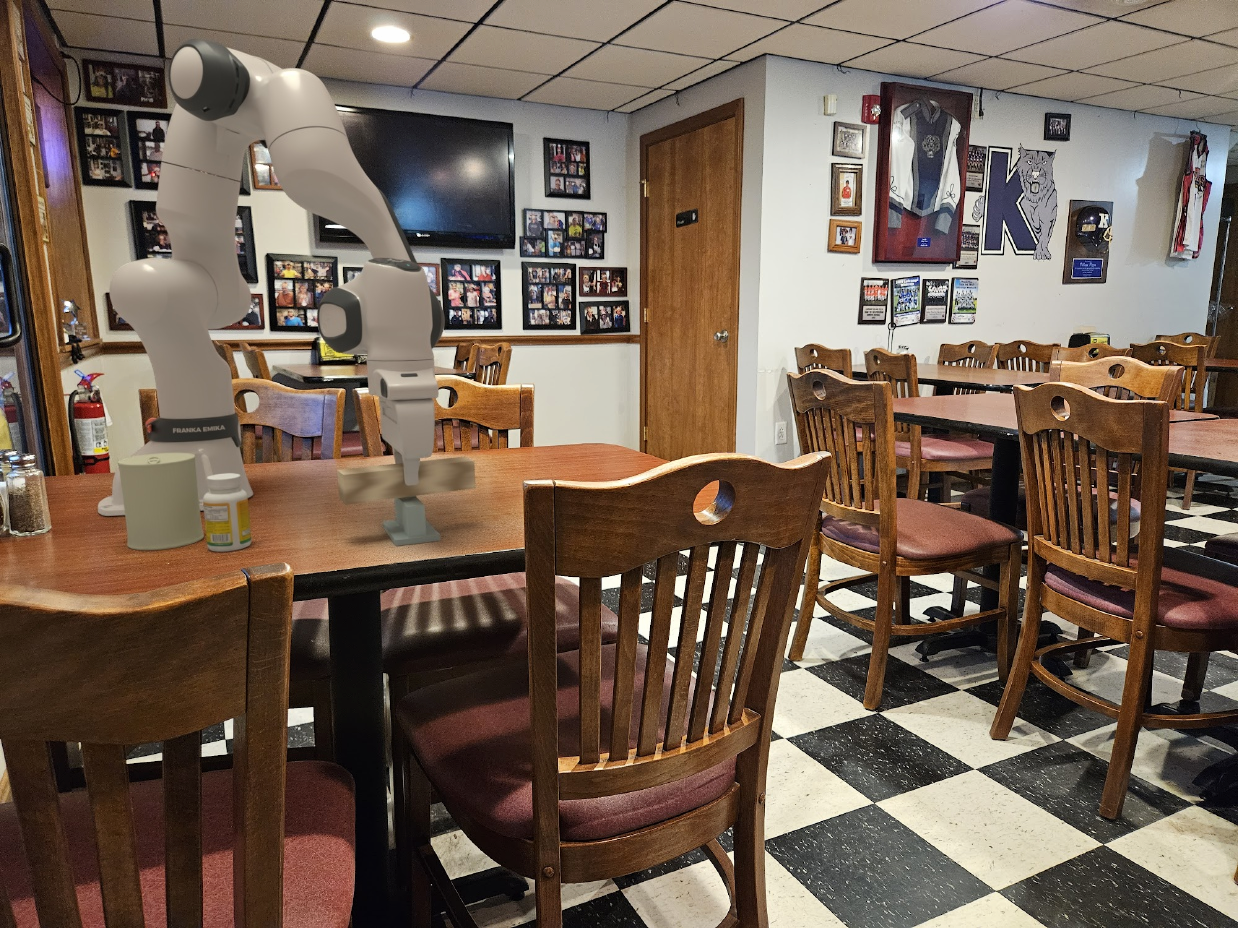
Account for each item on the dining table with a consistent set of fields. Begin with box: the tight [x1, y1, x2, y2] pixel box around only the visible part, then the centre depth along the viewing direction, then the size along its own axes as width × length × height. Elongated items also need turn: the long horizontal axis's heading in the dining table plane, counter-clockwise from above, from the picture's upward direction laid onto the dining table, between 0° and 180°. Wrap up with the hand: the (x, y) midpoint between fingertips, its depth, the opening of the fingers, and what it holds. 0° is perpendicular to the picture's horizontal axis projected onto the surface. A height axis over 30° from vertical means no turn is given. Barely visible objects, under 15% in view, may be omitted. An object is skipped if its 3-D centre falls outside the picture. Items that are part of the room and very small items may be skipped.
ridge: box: [382, 496, 441, 547], centre depth 113 cm, size 6×11×5 cm, turn 25°
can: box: [117, 453, 205, 551], centre depth 110 cm, size 9×9×12 cm
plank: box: [336, 456, 477, 506], centre depth 112 cm, size 18×4×4 cm, turn 120°
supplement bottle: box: [203, 473, 252, 553], centre depth 107 cm, size 5×5×10 cm
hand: (407, 480), depth 112 cm, fingers closed on plank, 4 cm apart
